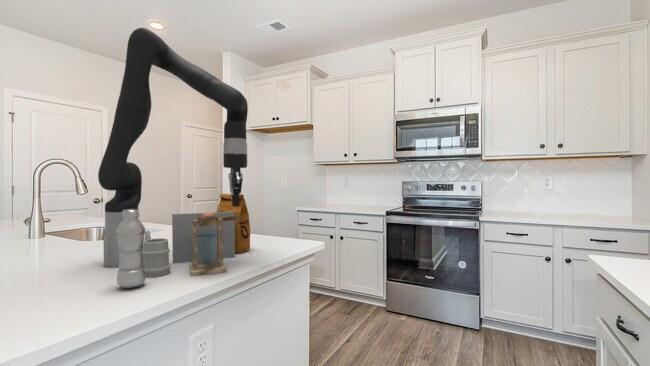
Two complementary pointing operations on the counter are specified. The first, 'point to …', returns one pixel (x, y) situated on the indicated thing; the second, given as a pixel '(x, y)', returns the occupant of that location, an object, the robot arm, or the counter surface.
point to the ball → (208, 214)
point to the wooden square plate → (214, 220)
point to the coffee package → (238, 221)
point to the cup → (206, 248)
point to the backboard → (184, 231)
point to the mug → (156, 256)
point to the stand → (220, 265)
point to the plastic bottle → (131, 250)
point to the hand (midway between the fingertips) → (235, 206)
